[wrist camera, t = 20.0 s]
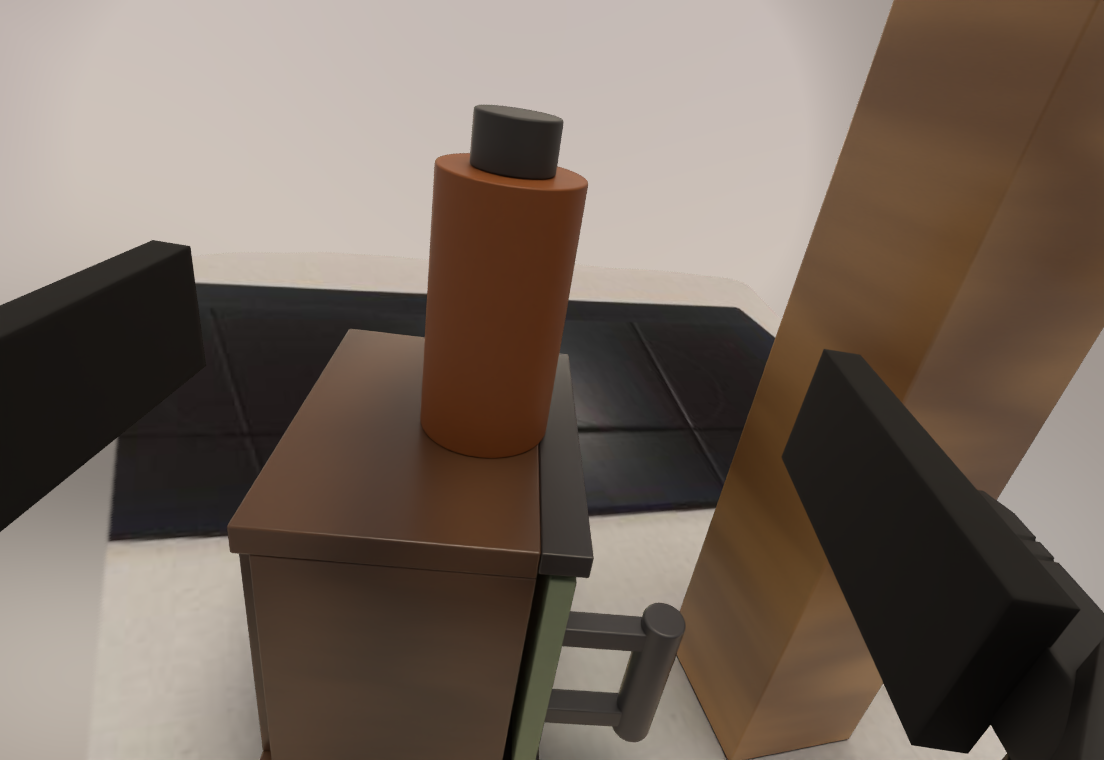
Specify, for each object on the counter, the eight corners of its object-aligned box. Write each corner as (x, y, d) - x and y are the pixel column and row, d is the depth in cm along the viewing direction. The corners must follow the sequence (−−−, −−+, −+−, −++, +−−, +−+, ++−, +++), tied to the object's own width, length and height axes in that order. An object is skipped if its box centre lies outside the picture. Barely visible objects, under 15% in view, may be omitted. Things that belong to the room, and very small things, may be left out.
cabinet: (534, 546, 35) (568, 354, 29) (536, 795, 23) (593, 558, 18) (350, 530, 34) (349, 327, 28) (258, 781, 22) (225, 526, 17)
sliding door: (617, 636, 29) (667, 465, 24) (639, 781, 23) (709, 593, 19) (514, 628, 28) (545, 452, 24) (510, 774, 23) (549, 580, 18)
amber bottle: (557, 406, 25) (608, 120, 20) (528, 472, 21) (583, 134, 16) (447, 379, 25) (469, 95, 20) (398, 438, 21) (411, 102, 16)
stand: (773, 626, 32) (1212, -328, 16) (849, 739, 27) (1609, -485, 11) (668, 639, 30) (1037, -417, 14) (728, 763, 25) (1416, -658, 9)
